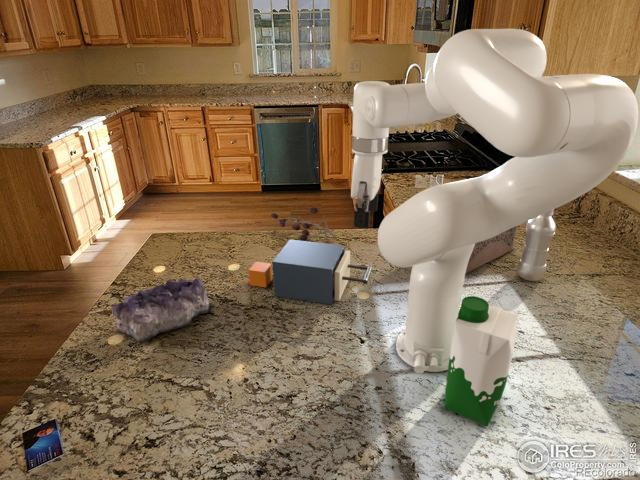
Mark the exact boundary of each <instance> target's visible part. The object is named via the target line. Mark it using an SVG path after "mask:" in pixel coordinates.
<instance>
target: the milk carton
mask: <svg viewBox="0 0 640 480" xmlns="http://www.w3.org/2000/svg"><path fill="white" fill-rule="evenodd" d="M518 319H519V314H518V313H516V312H512V311H508V310H506V309H505V310H504V309H502V308H501V307H498V306H493V305H490V304H489V302H488V301H487V300H486V299H484V298H482V297H479V296H475V295H474V296H473V295H472V296H471V295H469V296H465V297H463V298H462V299H461V303H460V308H459V313H458V317H457V319H456V322H455V327H454V334H453V340H452V346H451V352H450V359H449V365H448V370H447V373H446V381H445V382H446V383H445V393H444V395H445V396H444V409H445V410H448V411H451V412H452V413H454V414H457V415H459V416H461V417H462V416H463V417H465V418H467V419H469V420H471V421H473V422H476V423H479V424H481V425H484V426H486V427H488V426H489V424H490V423H491V420H492V418H493V415H494V414H495V412H496V409H497V408H498V406H499V404H500V401H501V400H502V397H503V394H504V391H505V389H506V385H507V381H508V377H509V372H510V370H511V369H510V368H511V364H512V360H513V356H514V350H515V345H516V338H517V327H518Z"/></svg>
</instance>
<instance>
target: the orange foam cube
mask: <svg viewBox="0 0 640 480" xmlns="http://www.w3.org/2000/svg"><path fill="white" fill-rule="evenodd" d="M248 279H249V286H253V287H260V288H267V287H268V286H269V284H270V283H271V282H272V281H273V265H272V263H268V262H260V261H254V263H253V264H252V265H251V267H250V268H249V269H248Z"/></svg>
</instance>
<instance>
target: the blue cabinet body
mask: <svg viewBox="0 0 640 480" xmlns="http://www.w3.org/2000/svg"><path fill="white" fill-rule="evenodd" d="M344 253H345V245H343V244H342V245H341V244H333V243H324V242H317V241H308V240H306V241H302V240H300V239H299V240H298V239H289V240H288V241H287V243H286V244H285V245H284V246H283V247H282V249H281V250H280V251H279V253H277V255H276V256H275V257H274V259H272V261H271V264H272V277H273V279H272V281H273V293H274V294H273V295H274V297H280V298H288V299H291V300H300V301H305V302H306V301H307V302H313V303H319V304H325V305H326V304H327V305H331V306H332V305H333V303H334V301H335V287H334V289H333V269H334V267H335V266H336V264H337V262H338V260H339V258H340V261H341V259H342V257H343V255H344Z"/></svg>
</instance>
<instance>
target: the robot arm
mask: <svg viewBox="0 0 640 480" xmlns="http://www.w3.org/2000/svg"><path fill="white" fill-rule="evenodd" d="M547 61H548V55H547V50H546V47H545V45H544V44H543V41H542V40H541V39H540V38H539V37H538V36H537V35H535V34H534V33H532V32H531V31H528V30H526V29H525V30H524V29H519V28H472V29H471V28H470V29H466V30H461V31H459V32H457V33H455V34H454V35H452V36H451V37H449V38H448V39H446V41H445V43H443V45H441V47H440V49H439V50H438V52H437V53H436V57H435V60H434V63H433V64H432V65H431V66H430V68H428V70H427V73H426V76H425V81H424V82H417V83H400V84H399V83H398V84H389V83H388V82H386V81H380V80H365V81H360V82H357V83H356V84H355V86H354V88H353V103H352V104H353V106H352V132H351V133H352V135H351V152H352V153H354V158H353V163H352V174H351V187H350V188H351V189H350V198H351V199H352V200H354V199H355V204H354V217H353V226H354V228H360V229H368V228H369V227H370V213H371V212H373V213H374V212H377V211H378V205H379V204H378V203H379V195H378V194H379V190H380V187H381V181H382V167H383V155H384V154H387V153H388V150H389V149H388V148H389V136H390V135H389V134H390V128H398V127H406V126H415V125H423V124H429V123H432V122H436V121H439V120H444V119H448V118H451V117H453V116H456V115H457V114H458V115H459V116H460V117H461V118H462V119H463V120H465V121H466V122H467V123H468V124H469V125H470V126H471V127H472V128H473V129H474V130H475V131H476V132H477V133H479V134H480V135H481V136H482V137H483V138H484V139H485V140H486V141H487V142H488V143H490V145H492V146H493V147H494V148H496V149H497V150H499V151H500V152H503V153H504V154H506V155H508V156H512V158H510V159H508V160H507V161H506V162H504V163H503V164H502V165H500V166H499V167H496V168H494V169H493V170H491V171H489V172H487V173H485V174H483V175H479V176H477V177H472V178H467V179H461V180H455V181H451V182H446V183H441V184H437V185H432V186H429V187H427V188H426V189H423V190H421V191H419V192H418V193H416V194H415V195H413V196H412V197H410V198H409V199H407V200H406V201H404V202H403V203H401V204H400V205H398V206H397V207H396V208H394V209H393V210H392V211H390V212H389V213H387V214H386V215H385V217H383V219H382V221H381V222H380V224H379V227H378V231H377V245H378V250H379V252H380V254H381V256H382V257H383V258H384V260H386V261H387V262H388V263H389V264H391V265H393V266H394V267H398V268H403V269H404V268H410V267H411V271H410V276H409V277H410V278H409V287H408V296H407V297H408V298H407V307H406V318H405V329H404V331H402V332H401V333H400V334H398V336H397V338H396V343H395V350H396V353H397V354H398V356H399V358H400V359H401V360H402V361H404V363H406V364H407V365H409V366H410V367H413V371H414V373H416V374H417V375H420V374H421V375H422V374H423V373H425V372H430V373H439V372H444V371H448V365H449V359H450V352H451V346H452V340H453V334H454V327H455V322H456V319H457V317H458V313H459V310H460V308H461V302H462V294H463V289H464V283H465V277H466V274H467V273H466V268H467V265H468V261H469V259H470V256H471V253H472V251H473V248H474V246H475V243H478V242H481V241H484V240H487V239H490V238H492V237H495V236H497V235H499V234H501V233H503V232H504V231H507V230H509V229H511V228H513V227H515V226H517V227H518V226H520V225H522V224H525V223H527V222H528V221H529V220H532V219H534V218H536V217H538V216H540V215H542V214H544V213H546V212H548V211H551V210H553V209H554V210H556V209H558V208H560V207H562V206H564V205H566V204H568V203H570V202H572V201H575V200H576V199H578V198H579V197H582V196H583V195H585V194H587V193H588V192H590V191H591V190H593V189H595V188H596V187H597V186H598V185H600V184H601V183H602V182H603V181H604V180H605V179H607V178H608V177H609V176H610V175H611V174H612V173H613V172H614V171H615V170H616V169H617V168H618V166H619V165H620V164H621V163H622V162H623V161H624V159H625V158H626V155H627V154H628V152H629V151H630V149H631V146H632V144H633V142H634V139H635V137H636V133H637V129H638V126H639V125H638V123H639V113H640V111H639V106H638V104H639V103H638V100H637V98H636V95H635V93H634V91H633V90H632V89H631V87H630V86H628V85H627V84H626V83H625V82H623V81H622V80H620V79H618V78H616V77H613V76H609V75H605V74H599V73H576V74H575V73H574V74H562V75H561V74H560V75H547V76H546V75H545V76H543V74H544V72H545V70H546V68H547V67H546V66H547ZM465 273H466V274H465Z"/></svg>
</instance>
